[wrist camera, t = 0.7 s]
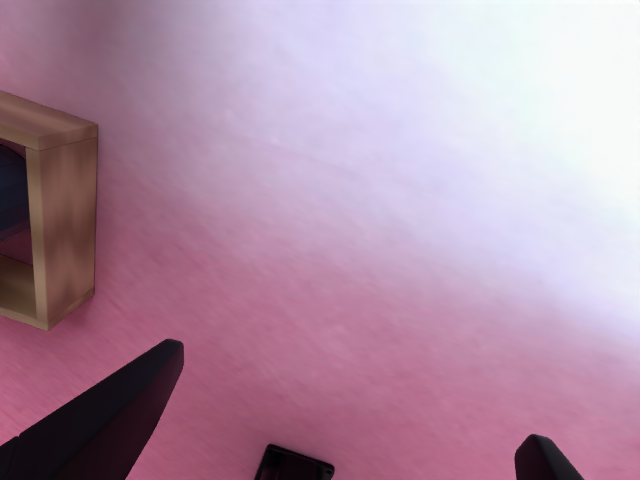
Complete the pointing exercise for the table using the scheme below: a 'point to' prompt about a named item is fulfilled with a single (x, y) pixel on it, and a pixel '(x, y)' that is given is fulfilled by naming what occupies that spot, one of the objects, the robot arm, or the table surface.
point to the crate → (52, 213)
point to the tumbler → (13, 195)
